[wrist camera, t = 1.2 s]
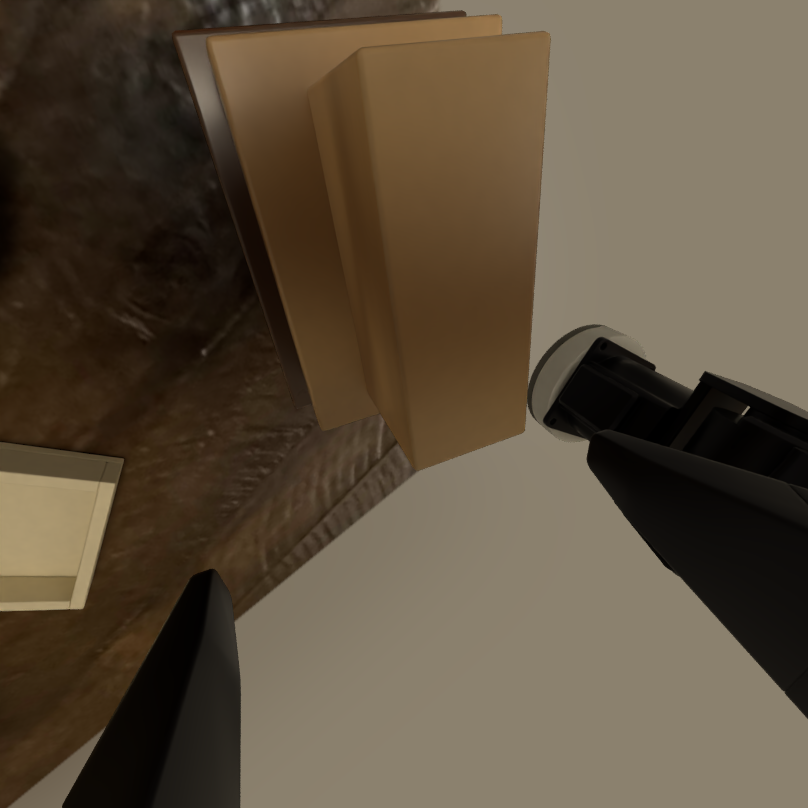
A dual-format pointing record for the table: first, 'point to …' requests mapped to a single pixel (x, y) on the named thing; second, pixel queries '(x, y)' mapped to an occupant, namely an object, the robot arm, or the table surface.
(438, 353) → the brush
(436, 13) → the brown block
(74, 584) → the tray
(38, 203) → the table surface
